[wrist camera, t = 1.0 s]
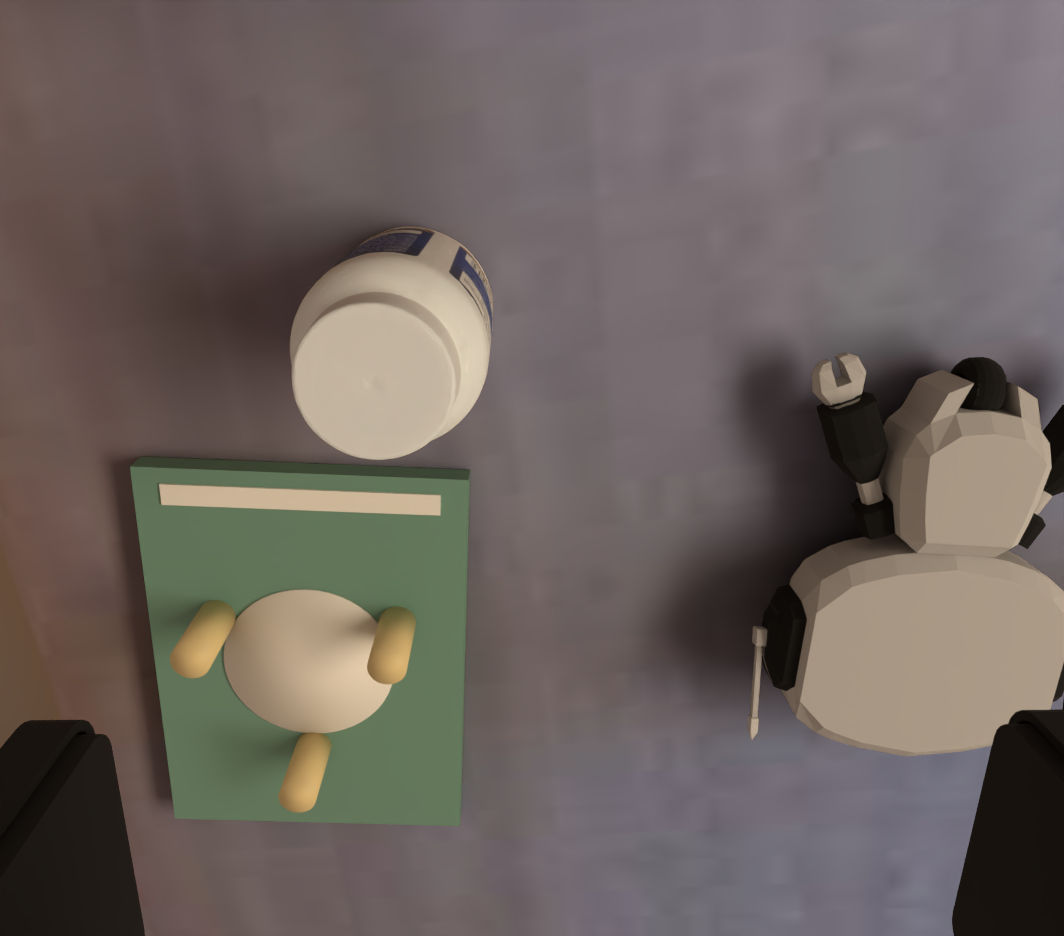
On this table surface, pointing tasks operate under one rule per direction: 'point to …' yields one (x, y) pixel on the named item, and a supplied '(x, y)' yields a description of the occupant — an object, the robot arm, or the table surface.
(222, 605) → the board
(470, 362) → the pill bottle
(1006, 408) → the robot toy
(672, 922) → the table surface
